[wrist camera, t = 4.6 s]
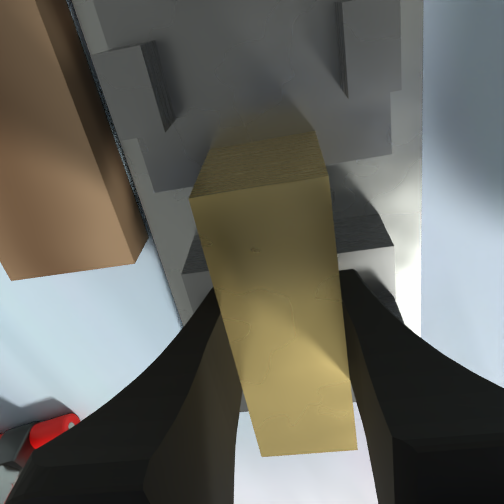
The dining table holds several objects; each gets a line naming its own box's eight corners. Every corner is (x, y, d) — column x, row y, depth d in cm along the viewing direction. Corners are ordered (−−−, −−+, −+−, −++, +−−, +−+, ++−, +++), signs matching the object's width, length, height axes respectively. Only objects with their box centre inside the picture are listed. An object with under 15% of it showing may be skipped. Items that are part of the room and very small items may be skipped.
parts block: (30, -102, 12) (-10, -119, 10) (148, 237, 18) (134, 263, 16) (-124, -61, 13) (-186, -70, 11) (36, 254, 18) (10, 281, 16)
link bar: (315, 130, 12) (328, 176, 9) (342, 366, 16) (357, 449, 13) (209, 149, 12) (188, 198, 9) (264, 374, 17) (261, 457, 14)
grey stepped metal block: (415, -153, 11) (508, -252, 7) (414, 338, 20) (456, 439, 15) (61, -64, 13) (-58, -97, 8) (202, 361, 21) (181, 460, 16)
